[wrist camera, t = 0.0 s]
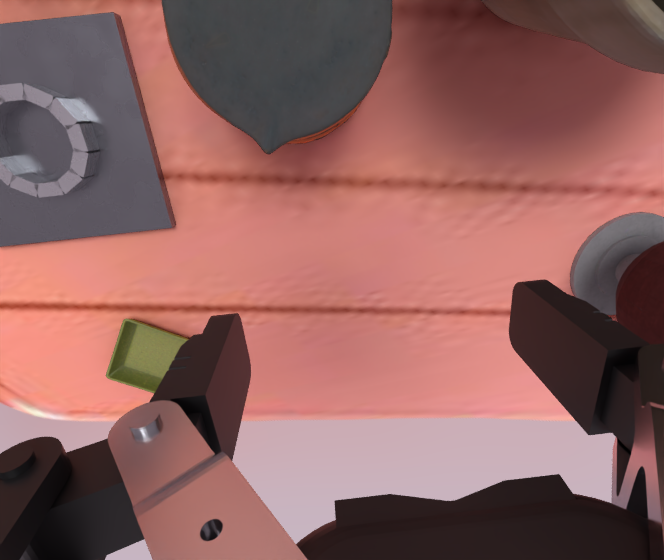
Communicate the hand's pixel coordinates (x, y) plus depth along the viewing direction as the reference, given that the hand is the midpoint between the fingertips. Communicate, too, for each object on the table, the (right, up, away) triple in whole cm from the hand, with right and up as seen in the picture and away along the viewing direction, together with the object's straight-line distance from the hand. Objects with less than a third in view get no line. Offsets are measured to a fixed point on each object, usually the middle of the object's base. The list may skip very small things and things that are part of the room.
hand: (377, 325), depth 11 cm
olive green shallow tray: (-22, -7, +34) cm, 41 cm away
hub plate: (-27, +14, +24) cm, 39 cm away
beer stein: (-5, +23, +22) cm, 32 cm away
